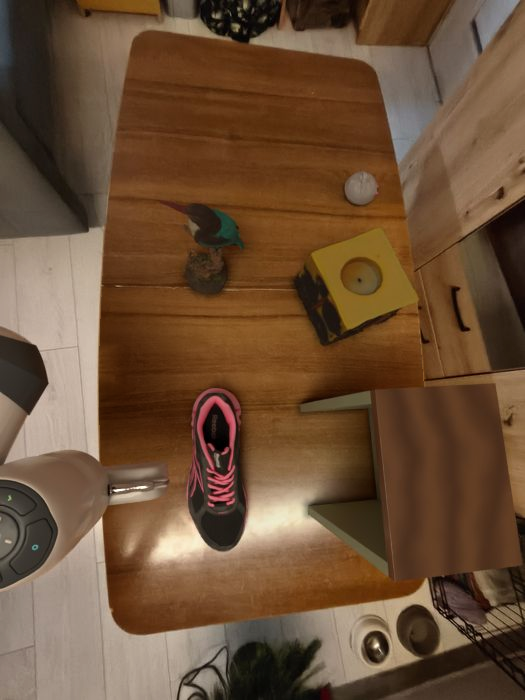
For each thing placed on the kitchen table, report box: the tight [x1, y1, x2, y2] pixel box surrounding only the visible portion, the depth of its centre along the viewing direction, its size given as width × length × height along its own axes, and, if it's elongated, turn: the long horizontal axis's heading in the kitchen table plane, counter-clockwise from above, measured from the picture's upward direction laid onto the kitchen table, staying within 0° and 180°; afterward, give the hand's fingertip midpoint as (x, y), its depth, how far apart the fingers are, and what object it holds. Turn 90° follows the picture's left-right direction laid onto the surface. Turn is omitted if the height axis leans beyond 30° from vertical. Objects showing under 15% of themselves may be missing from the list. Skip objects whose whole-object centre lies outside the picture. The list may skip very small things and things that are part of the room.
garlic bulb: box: [343, 170, 379, 206], centre depth 87 cm, size 6×7×8 cm
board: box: [369, 383, 524, 583], centre depth 48 cm, size 15×20×2 cm
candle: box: [293, 226, 420, 347], centre depth 79 cm, size 15×15×15 cm
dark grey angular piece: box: [299, 390, 389, 578], centre depth 65 cm, size 15×20×33 cm
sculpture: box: [156, 199, 246, 295], centre depth 70 cm, size 8×14×25 cm, turn 88°
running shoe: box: [185, 387, 248, 553], centre depth 70 cm, size 11×27×13 cm, turn 6°
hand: (91, 478), depth 56 cm, fingers open, 8 cm apart
